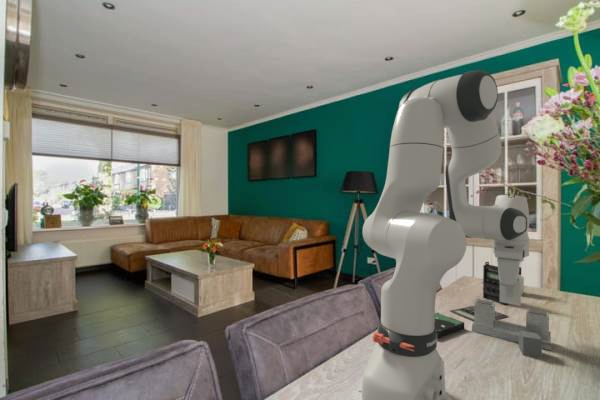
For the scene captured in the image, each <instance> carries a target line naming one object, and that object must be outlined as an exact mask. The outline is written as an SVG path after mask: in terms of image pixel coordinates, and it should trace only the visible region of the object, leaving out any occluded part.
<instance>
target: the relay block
mask: <svg viewBox="0 0 600 400" xmlns="http://www.w3.org/2000/svg"><path fill="white" fill-rule="evenodd" d="M518 349H519V351H520V352H521V354H522V355H523V356H525V357H531V358H537V359H538V358H539V359H542V357H543V355H542V353H543V349H542V339H541V338H540V336H539V335H538V334H537V333H533V332H526V331H519V343H518Z"/></svg>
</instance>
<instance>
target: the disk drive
mask: <svg viewBox="0 0 600 400" xmlns="http://www.w3.org/2000/svg"><path fill="white" fill-rule="evenodd" d="M434 326H435V328H436V332H437V340H439V339H441V338H444V337H447V336H449V335H452V334H455V333H458V332H462V331H464V330H465V322H463V321H461V320H458V319H456V318H454V317H452V316H447V315H444V314H442V313H440V312H435V319H434Z"/></svg>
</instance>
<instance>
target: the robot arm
mask: <svg viewBox="0 0 600 400" xmlns="http://www.w3.org/2000/svg"><path fill="white" fill-rule="evenodd" d="M498 98H499V91H498V86H497V82H496V81H495V78H494V77H493V76H492V75H491V74H490V73H488V72H487V71H485V70H483V69H482V70H481V69H480V70H471V71H466V72H463V74H457V75H453V76H449V77H446V78H443V79H437V80H434V81H432V82H429V83H426V84H424V85H422V86H421V87H418V88H417V87H416V88H414V89H412V90H410V91H408V92H407V93H406V94H404V95H403V96H402V97H401V99H400V101H399V105H398V107H397V108H398V109H397V111H396V115H395V117H394V118H395V119H394V123H393V126H392V130H391V137H390V142H389V153H388V161H387V170H386V178H385V184H384V186H383V189H382V192H381V195H380V197H379V200H378V202H377V205H376V207H375V208H374V210H373V211H372V213H371V214H370V215H369V216H368V217H367V218H366V219H365V220H364V223H363V225H362V232H361V233H362V238H363V241H364V242H365V244H366V245H367V246H368V247H369V248H370V249H372V250H373V251H374V252H376V253H377V254H379V255H382V256H385V257H387V258H391V259H394V260H395V263H396V265H395V268H394V273H393V275H392V278H390V279H388V280H386V281H385V282H384V284H382V287H381V289H380V320H379V321H378V326H377V329H376V330H377V331H374V333H373V336H372V341H373V343H375V344H374V347H373V349H372V351H371V354H370V356H369V360H368V362H367V365H366V367H365V370H364V373H363V376H362V378H361V380H360V382H359V383H358V386H357V388H356V389H355V392H354V393H353V396H352V398H351V399H350V400H454V399H453V398H452V396H451V395H449V394H448V393H447V392H446V372H445V361H444V359H443V358H442V357H441V355H440V354H439V352H438V350H437V345H438V339H437V332H436V328H435V326H434V319H435V313H436V297H437V290H438V287H439V284H440V282H441V281H442V278H443V277H444V276H445V274H447V272H448V271H450V270H451V269H452V268H454V267H457V265H458V264H459V263H460V262H461V261H462V259H464V257H465V254H466V251H467V246H468V244H467V243H468V242H467V238H469V239H472V238H473V239H483V240H492V253H493V254H494V257H495V258H497V267H498V272H499V280H500V284H501V285H504V286H505V291H506V297H510V298H512V297H513V288H514V287H515V286H516V283H517V279H518V274H519V267H521V266H520V265H521V263H522V262H524V259H525V258H527V257H529V256H530V237H529V234H528V231H529V227H530V212H529V211H530V210H529V209H530V208H529V202H528V199H527V197H525V196H523V195H520V194H514V195H515V198H514V197H512V198H508V194H509V193H506V194H505V193H503V194H499V195H497V196H496V197H495V201H494V204H493V205H474V204H473V205H472V204H471V203H469V201H468V197H467V196H468V194H467V183H466V181H467V179H468V178H470V177H472V176H475V175H477V174H479V173H481V172H484V171H485V170H487V169H488V168H490V167H492V166H493V164H494V163H496V162H497V160H498V159H499V157H500V156H501V154H502V153H501V152H502V140H501V136H500V131H499V127H498V124H497V121H496V118H495V115H494V113H493V111H494V110H495V108H496V105H497V102H498V100H499V99H498ZM445 129H447V135H448V140H449V143H450V147H451V158H450V159H448V161H447V162H446V166H445V185H446V192H447V202H448V217H446V216H443V215H440V214H436V213H434V212H432V213H430V212H421V209H422V207H423V204H424V203H425V201H426V199H427V198H428V197H429V196H430V195H431V194H432V193H434V191H436V190H437V189H438V187H440V184H441V177H442V166H443V155H444V142H445V140H444V139H445V136H444V135H445V131H444V130H445Z"/></svg>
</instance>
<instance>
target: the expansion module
mask: <svg viewBox="0 0 600 400" xmlns="http://www.w3.org/2000/svg"><path fill="white" fill-rule="evenodd" d="M521 299H522V296H521V279H519V278H518V279H517V283H516V286H515V287H514V288H513V297H512V298H510V297H506V291H505V286H504V285H501V284H500V299H499V302H503V303H508V305H514V306H519V307H520V306H521V303H522V302H521V301H522V300H521Z"/></svg>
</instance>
